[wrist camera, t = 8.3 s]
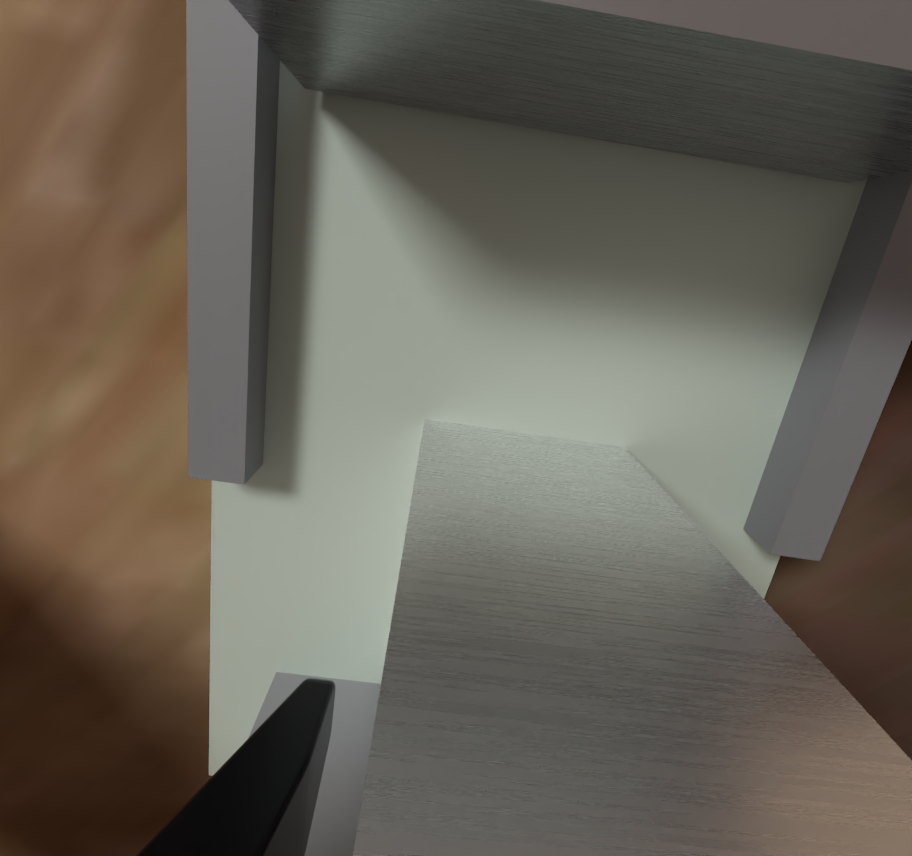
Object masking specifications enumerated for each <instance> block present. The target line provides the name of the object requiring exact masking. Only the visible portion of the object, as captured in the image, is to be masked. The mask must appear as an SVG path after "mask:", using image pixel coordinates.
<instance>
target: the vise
mask: <svg viewBox="0 0 912 856" xmlns="http://www.w3.org/2000/svg"><path fill="white" fill-rule="evenodd" d="M186 12H187V263H188V477H190V478H197V479H205V480H212V522H211V614H210V706H209V775H212V776H213V775H214V774H215V773H216V772H217V771H218V770H219V769H220V768H221V767H222V765H223V764H224V763H225V762H226V761H227V760H228V759H229V758H230V757H231V756H232V755H233V754H234V753H235V752H236V751H237V750H238V749H239V748H240V747H241V746H242V745H243V743H244V742H245V741H246V740H247V739H248V738H249V737H250V736H251V735H252V734H253V733H254V732H255V731H256V730H257V729H258V728H259V727H260V726H261V725H262V724H263V723H264V721H265V720H266V719H267V718H268V717H269V716H270V715H271V714H272V713H273V712H274V711H275V710H276V709H277V708H278V707H279V706H280V705H281V704H282V703H283V702H284V701H285V699H286V698H287V697H288V696H289V695H290V694H291V693H292V692H293V691H294V690H295V689H296V688H297V687H298V686H299V685H300V684H301V683H302V682H303V681H304V680H305V679H307V678H317V679H326V680H332V681H333V682H334V683H335V685H336V689H335V700H334V710H333V720H332V729H331V735H330V741H329V746H328V750H327V755H326V760H325V764H324V769H323V773H322V778H321V783H320V787H319V792H318V797H317V801H316V806H315V810H314V815H313V820H312V824H311V829H310V833H309V838H308V843H307V847H306V851H305V856H353V851H354V845H355V839H356V833H357V826H358V820H359V814H360V808H361V802H362V796H363V790H364V784H365V778H366V772H367V766H368V760H369V754H370V747H371V741H372V735H373V729H374V723H375V717H376V711H377V705H378V699H379V693H380V687H381V681H382V675H383V669H384V662H385V656H386V650H387V644H388V638H389V632H390V626H391V620H392V614H393V608H394V602H395V596H396V590H397V583H398V577H399V571H400V565H401V559H402V553H403V547H404V541H405V535H406V529H407V523H408V517H409V511H410V505H411V498H412V492H413V486H414V480H415V474H416V468H417V462H418V456H419V450H420V444H421V438H422V432H423V426H424V419H430V420H437V421H444V422H451V423H458V424H465V425H473V426H480V427H487V428H494V429H501V430H508V431H515V432H522V433H529V434H537V435H544V436H551V437H558V438H565V439H572V440H579V441H586V442H593V443H601V444H608V445H615V446H622V447H625V448H626V449H627V450H628V452H629V453H630V454H631V455H632V456H633V457H634V458H635V459H636V460H637V461H638V462H639V464H640V465H641V466H642V467H643V468H644V469H645V470H646V471H647V472H648V473H649V474H650V476H651V477H652V478H653V479H654V480H655V481H656V482H657V483H658V484H659V485H660V486H661V488H662V489H663V490H664V491H665V492H666V493H667V494H668V495H669V496H670V497H671V498H672V500H673V501H674V502H675V503H676V504H677V505H678V506H679V507H680V508H681V509H682V510H683V512H684V513H685V514H686V515H687V516H688V517H689V518H690V519H691V520H692V521H693V522H694V524H695V525H696V526H697V527H698V528H699V529H700V530H701V531H702V532H703V533H704V534H705V536H706V537H707V538H708V539H709V540H710V541H711V542H712V543H713V544H714V545H715V547H716V548H717V549H718V550H719V551H720V552H721V553H722V554H723V555H724V556H725V557H726V559H727V560H728V561H729V562H730V563H731V564H732V565H733V566H734V567H735V568H736V569H737V571H738V572H739V573H740V574H741V575H742V576H743V577H744V578H745V579H746V580H747V581H748V583H749V584H750V585H751V586H752V587H753V588H754V589H755V590H756V591H757V592H758V593H759V595H760V596H761V597H762V598H763V599H764V598H765V595H766V592H767V590H768V587H769V585H770V582H771V579H772V577H773V574H774V572H775V569H776V566H777V564H778V561H779V559H780V556H786V557H794V558H801V559H809V560H817V561H820V560H821V558H822V555H823V553H824V550H825V548H826V546H827V543H828V541H829V538H830V536H831V534H832V531H833V529H834V526H835V524H836V521H837V519H838V517H839V514H840V512H841V509H842V507H843V504H844V502H845V500H846V497H847V495H848V492H849V490H850V488H851V485H852V483H853V480H854V478H855V475H856V473H857V471H858V468H859V466H860V463H861V461H862V459H863V456H864V454H865V451H866V449H867V446H868V444H869V442H870V439H871V437H872V434H873V432H874V430H875V427H876V425H877V422H878V420H879V417H880V415H881V413H882V410H883V408H884V405H885V403H886V401H887V398H888V396H889V393H890V391H891V388H892V386H893V384H894V381H895V379H896V376H897V374H898V371H899V369H900V367H901V364H902V362H903V359H904V357H905V355H906V352H907V350H908V347H909V345H910V342H911V340H912V171H911V172H905V173H900V174H895V175H889V176H884V177H879V178H873V179H868V180H863V181H857V182H852V183H844V182H839V181H833V180H827V179H821V178H815V177H810V176H804V175H798V174H792V173H787V172H781V171H775V170H769V169H764V168H758V167H752V166H746V165H741V164H735V163H729V162H723V161H718V160H712V159H706V158H700V157H695V156H689V155H683V154H677V153H672V152H666V151H660V150H654V149H649V148H643V147H637V146H631V145H626V144H620V143H614V142H608V141H602V140H597V139H591V138H585V137H579V136H574V135H568V134H562V133H556V132H551V131H545V130H539V129H533V128H528V127H522V126H516V125H510V124H505V123H499V122H493V121H487V120H482V119H476V118H470V117H464V116H459V115H453V114H447V113H441V112H436V111H430V110H424V109H418V108H413V107H407V106H401V105H395V104H389V103H384V102H378V101H372V100H366V99H361V98H355V97H349V96H343V95H338V94H332V93H326V92H320V91H315V90H309V89H305V88H304V87H303V86H302V85H301V84H300V82H299V81H298V80H297V79H296V78H295V77H294V76H293V74H292V73H291V72H290V71H289V70H288V69H287V67H286V66H285V65H284V64H283V63H282V62H281V60H280V59H279V58H278V57H277V56H276V55H275V54H274V52H273V51H272V50H271V49H270V48H269V47H268V45H267V44H266V43H265V42H264V41H263V40H262V38H261V37H260V36H259V35H258V34H257V33H256V32H255V30H254V29H253V28H252V27H251V26H250V25H249V23H248V22H247V21H246V20H245V19H244V18H243V16H242V15H241V14H240V13H239V12H238V11H237V10H236V8H235V7H234V6H233V5H232V4H231V3H230V1H229V0H186Z"/></svg>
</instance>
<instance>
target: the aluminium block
mask: <svg viewBox="0 0 912 856" xmlns="http://www.w3.org/2000/svg"><path fill="white" fill-rule="evenodd" d="M353 856H912V760H911V759H910V758H909V757H908V756H907V755H906V754H905V753H904V752H903V751H902V749H901V748H900V747H899V746H898V745H897V744H896V743H895V742H894V741H893V740H892V739H891V737H890V736H889V735H888V734H887V733H886V732H885V731H884V730H883V729H882V728H881V727H880V725H879V724H878V723H877V722H876V721H875V720H874V719H873V718H872V717H871V716H870V715H869V713H868V712H867V711H866V710H865V709H864V708H863V707H862V706H861V705H860V704H859V703H858V701H857V700H856V699H855V698H854V697H853V696H852V695H851V694H850V693H849V692H848V691H847V689H846V688H845V687H844V686H843V685H842V684H841V683H840V682H839V681H838V680H837V679H836V677H835V676H834V675H833V674H832V673H831V672H830V671H829V670H828V669H827V668H826V667H825V665H824V664H823V663H822V662H821V661H820V660H819V659H818V658H817V657H816V656H815V655H814V653H813V652H812V651H811V650H810V649H809V648H808V647H807V646H806V645H805V644H804V643H803V641H802V640H801V639H800V638H799V637H798V636H797V635H796V634H795V633H794V632H793V631H792V629H791V628H790V627H789V626H788V625H787V624H786V623H785V622H784V621H783V620H782V619H781V617H780V616H779V615H778V614H777V613H776V612H775V611H774V610H773V609H772V608H771V607H770V605H769V604H768V603H767V602H766V601H765V600H764V599H763V598H762V597H761V596H760V595H759V593H758V592H757V591H756V590H755V589H754V588H753V587H752V586H751V585H750V584H749V583H748V581H747V580H746V579H745V578H744V577H743V576H742V575H741V574H740V573H739V572H738V571H737V569H736V568H735V567H734V566H733V565H732V564H731V563H730V562H729V561H728V560H727V559H726V557H725V556H724V555H723V554H722V553H721V552H720V551H719V550H718V549H717V548H716V547H715V545H714V544H713V543H712V542H711V541H710V540H709V539H708V538H707V537H706V536H705V534H704V533H703V532H702V531H701V530H700V529H699V528H698V527H697V526H696V525H695V524H694V522H693V521H692V520H691V519H690V518H689V517H688V516H687V515H686V514H685V513H684V512H683V510H682V509H681V508H680V507H679V506H678V505H677V504H676V503H675V502H674V501H673V500H672V498H671V497H670V496H669V495H668V494H667V493H666V492H665V491H664V490H663V489H662V488H661V486H660V485H659V484H658V483H657V482H656V481H655V480H654V479H653V478H652V477H651V476H650V474H649V473H648V472H647V471H646V470H645V469H644V468H643V467H642V466H641V465H640V464H639V462H638V461H637V460H636V459H635V458H634V457H633V456H632V455H631V454H630V453H629V452H628V450H627V449H626V448H625V447H622V446H615V445H608V444H601V443H593V442H586V441H579V440H572V439H565V438H558V437H551V436H544V435H537V434H529V433H522V432H515V431H508V430H501V429H494V428H487V427H480V426H473V425H465V424H458V423H451V422H444V421H437V420H430V419H424V426H423V432H422V438H421V444H420V450H419V456H418V462H417V468H416V474H415V480H414V486H413V492H412V498H411V505H410V511H409V517H408V523H407V529H406V535H405V541H404V547H403V553H402V559H401V565H400V571H399V577H398V583H397V590H396V596H395V602H394V608H393V614H392V620H391V626H390V632H389V638H388V644H387V650H386V656H385V662H384V669H383V675H382V681H381V687H380V693H379V699H378V705H377V711H376V717H375V723H374V729H373V735H372V741H371V747H370V754H369V760H368V766H367V772H366V778H365V784H364V790H363V796H362V802H361V808H360V814H359V820H358V826H357V833H356V839H355V845H354V851H353Z"/></svg>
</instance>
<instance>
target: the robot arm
mask: <svg viewBox="0 0 912 856" xmlns="http://www.w3.org/2000/svg"><path fill="white" fill-rule="evenodd" d="M335 689H336V685H335V683H334V682H333V681H332V680H326V679H317V678H307V679H305V680H304V681H303V682H302V683H301V684H300V685H299V686H298V687H297V688H296V689H295V690H294V691H293V692H292V693H291V694H290V695H289V696H288V697H287V698H286V699H285V701H284V702H283V703H282V704H281V705H280V706H279V707H278V708H277V709H276V710H275V711H274V712H273V713H272V714H271V715H270V716H269V717H268V718H267V719H266V720H265V721H264V723H263V724H262V725H261V726H260V727H259V728H258V729H257V730H256V731H255V732H254V733H253V734H252V735H251V736H250V737H249V738H248V739H247V740H246V741H245V742H244V743H243V745H242V746H241V747H240V748H239V749H238V750H237V751H236V752H235V753H234V754H233V755H232V756H231V757H230V758H229V759H228V760H227V761H226V762H225V763H224V764H223V765H222V767H221V768H220V769H219V770H218V771H217V772H216V773H215V774H214V775H213V776H212V777H211V778H210V779H209V780H208V781H207V782H206V783H205V784H204V785H203V786H202V787H201V789H200V790H199V791H198V792H197V793H196V794H195V795H194V796H193V797H192V798H191V799H190V800H189V801H188V802H187V803H186V804H185V805H184V806H183V807H182V808H181V810H180V811H179V812H178V813H177V814H176V815H175V816H174V817H173V818H172V819H171V820H170V821H169V822H168V823H167V824H166V825H165V826H164V827H163V828H162V829H161V830H160V832H159V833H158V834H157V835H156V836H155V837H154V838H153V839H152V840H151V841H150V842H149V843H148V844H147V845H146V846H145V847H144V848H143V849H142V850H141V851H140V852H139V854H138V855H137V856H305V851H306V847H307V843H308V838H309V833H310V829H311V824H312V820H313V815H314V810H315V806H316V801H317V797H318V792H319V787H320V783H321V778H322V773H323V769H324V764H325V760H326V755H327V750H328V746H329V741H330V735H331V729H332V720H333V710H334V700H335Z"/></svg>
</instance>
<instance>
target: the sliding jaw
mask: <svg viewBox="0 0 912 856" xmlns="http://www.w3.org/2000/svg"><path fill="white" fill-rule="evenodd" d="M229 1H230V3H231V4H232V5H233V6H234V7H235V8H236V10H237V11H238V12H239V13H240V14H241V15H242V16H243V18H244V19H245V20H246V21H247V22H248V23H249V25H250V26H251V27H252V28H253V29H254V30H255V32H256V33H257V34H258V35H259V36H260V37H261V38H262V40H263V41H264V42H265V43H266V44H267V45H268V47H269V48H270V49H271V50H272V51H273V52H274V54H275V55H276V56H277V57H278V58H279V59H280V60H281V62H282V63H283V64H284V65H285V66H286V67H287V69H288V70H289V71H290V72H291V73H292V74H293V76H294V77H295V78H296V79H297V80H298V81H299V82H300V84H301V85H302V86H303V87H304V88H305V89H309V90H315V91H320V92H326V93H332V94H338V95H343V96H349V97H355V98H361V99H366V100H372V101H378V102H384V103H389V104H395V105H401V106H407V107H413V108H418V109H424V110H430V111H436V112H441V113H447V114H453V115H459V116H464V117H470V118H476V119H482V120H487V121H493V122H499V123H505V124H510V125H516V126H522V127H528V128H533V129H539V130H545V131H551V132H556V133H562V134H568V135H574V136H579V137H585V138H591V139H597V140H602V141H608V142H614V143H620V144H626V145H631V146H637V147H643V148H649V149H654V150H660V151H666V152H672V153H677V154H683V155H689V156H695V157H700V158H706V159H712V160H718V161H723V162H729V163H735V164H741V165H746V166H752V167H758V168H764V169H769V170H775V171H781V172H787V173H792V174H798V175H804V176H810V177H815V178H821V179H827V180H833V181H839V182H844V183H852V182H857V181H863V180H868V179H873V178H879V177H884V176H889V175H895V174H900V173H905V172H911V171H912V0H229Z"/></svg>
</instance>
